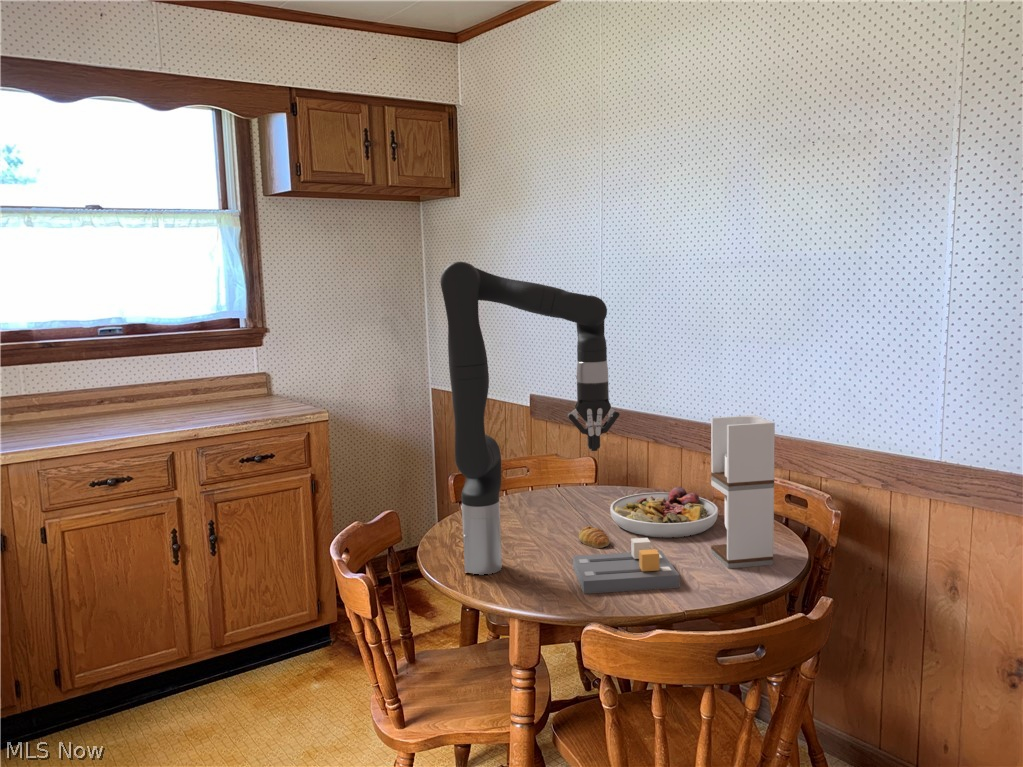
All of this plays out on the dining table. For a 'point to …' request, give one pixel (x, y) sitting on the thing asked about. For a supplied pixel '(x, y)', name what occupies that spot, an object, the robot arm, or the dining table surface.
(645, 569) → the slider
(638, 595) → the dining table surface
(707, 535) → the dining table surface
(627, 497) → the bowl
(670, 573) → the switch panel
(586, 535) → the pastry
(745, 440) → the white upright stand
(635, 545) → the on slider
